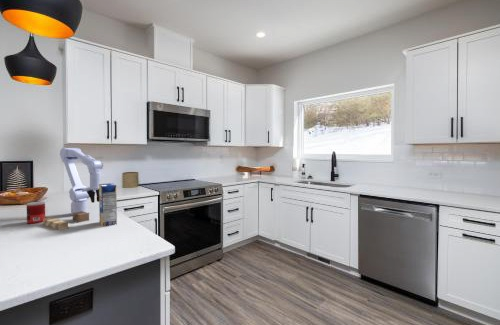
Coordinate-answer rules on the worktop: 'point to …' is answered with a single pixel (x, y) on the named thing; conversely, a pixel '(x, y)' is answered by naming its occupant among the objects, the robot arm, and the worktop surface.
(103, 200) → the beverage box
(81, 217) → the walnut block
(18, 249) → the worktop surface
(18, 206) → the worktop surface
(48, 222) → the tan faceted bar
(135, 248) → the worktop surface
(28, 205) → the canned food
